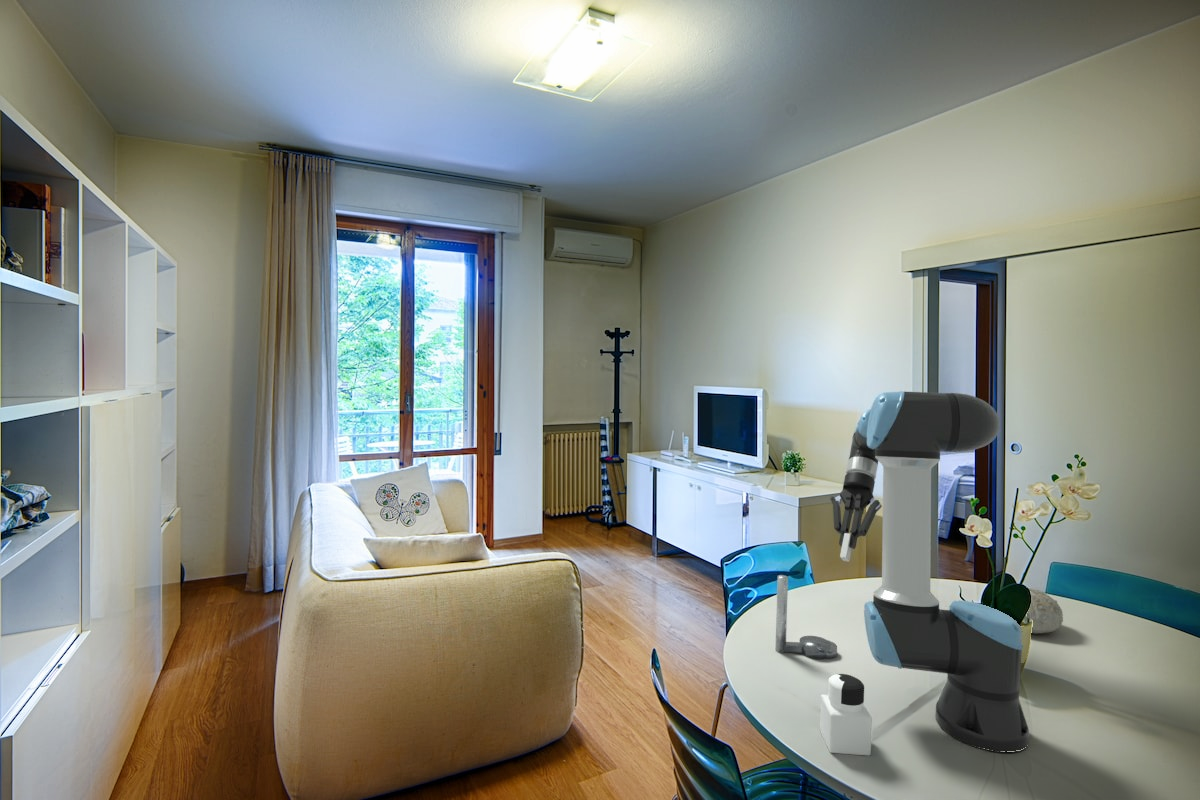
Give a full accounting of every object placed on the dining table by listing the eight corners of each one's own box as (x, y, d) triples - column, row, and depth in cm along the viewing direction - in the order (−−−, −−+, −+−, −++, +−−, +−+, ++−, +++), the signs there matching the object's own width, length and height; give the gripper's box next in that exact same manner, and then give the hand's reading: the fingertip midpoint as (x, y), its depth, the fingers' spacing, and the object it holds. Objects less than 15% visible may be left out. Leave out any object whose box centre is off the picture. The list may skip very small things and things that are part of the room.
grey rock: (979, 627, 162) (980, 591, 161) (985, 607, 176) (986, 574, 176) (1062, 646, 151) (1064, 608, 151) (1061, 623, 165) (1063, 588, 165)
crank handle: (831, 646, 146) (834, 574, 145) (840, 660, 139) (843, 584, 138) (772, 643, 147) (774, 571, 146) (778, 657, 140) (780, 581, 139)
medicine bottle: (858, 732, 113) (860, 670, 113) (871, 756, 106) (873, 690, 106) (819, 729, 114) (821, 668, 114) (829, 753, 107) (831, 688, 106)
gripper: (889, 485, 160) (875, 568, 150) (840, 482, 169) (824, 561, 159) (881, 471, 156) (866, 556, 146) (831, 469, 165) (814, 549, 155)
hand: (844, 559), depth 152 cm, fingers closed
